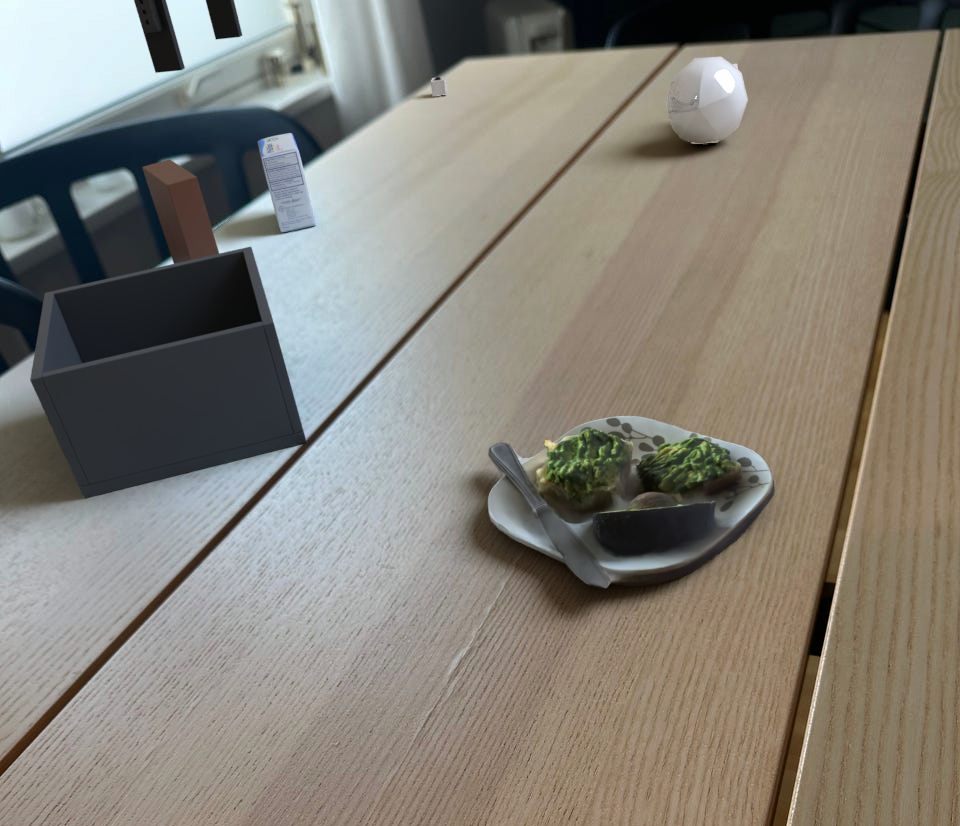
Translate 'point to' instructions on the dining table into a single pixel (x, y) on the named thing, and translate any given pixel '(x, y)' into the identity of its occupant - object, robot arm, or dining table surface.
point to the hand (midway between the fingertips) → (201, 53)
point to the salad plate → (629, 499)
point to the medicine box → (286, 182)
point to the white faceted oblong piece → (706, 100)
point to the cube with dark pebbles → (438, 86)
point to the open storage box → (163, 372)
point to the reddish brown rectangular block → (180, 211)
